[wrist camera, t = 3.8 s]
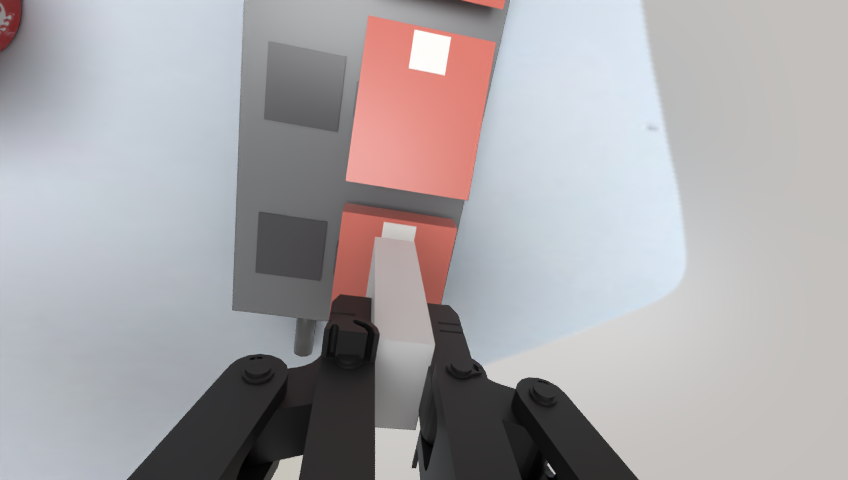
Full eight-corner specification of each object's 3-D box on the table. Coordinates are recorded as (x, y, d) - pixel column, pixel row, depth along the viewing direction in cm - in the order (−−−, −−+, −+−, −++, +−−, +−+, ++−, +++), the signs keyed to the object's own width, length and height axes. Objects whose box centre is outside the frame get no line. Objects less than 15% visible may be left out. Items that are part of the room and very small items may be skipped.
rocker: (329, 323, 25) (325, 339, 23) (345, 202, 23) (342, 211, 21) (428, 334, 26) (431, 351, 24) (452, 219, 24) (457, 229, 22)
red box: (347, 180, 21) (345, 180, 20) (368, 27, 20) (368, 14, 19) (461, 198, 22) (468, 200, 21) (486, 51, 21) (496, 41, 20)
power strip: (246, 334, 31) (224, 378, 27) (275, -231, 20) (246, -308, 16) (418, 353, 32) (423, 397, 28) (529, -160, 22) (564, -213, 18)
